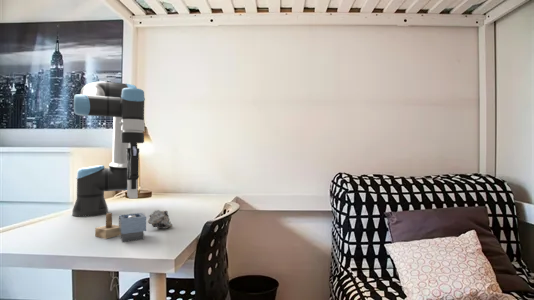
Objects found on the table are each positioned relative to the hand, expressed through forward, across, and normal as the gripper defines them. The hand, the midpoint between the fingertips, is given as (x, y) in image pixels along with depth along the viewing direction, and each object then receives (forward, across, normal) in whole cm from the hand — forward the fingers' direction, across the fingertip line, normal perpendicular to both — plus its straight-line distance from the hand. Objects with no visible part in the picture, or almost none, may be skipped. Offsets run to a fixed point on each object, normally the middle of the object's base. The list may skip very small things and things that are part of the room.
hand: (132, 197), depth 109 cm
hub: (+15, 0, 0) cm, 15 cm away
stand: (+15, -8, -7) cm, 18 cm away
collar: (+12, 0, 0) cm, 12 cm away
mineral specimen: (+15, -10, +12) cm, 21 cm away
